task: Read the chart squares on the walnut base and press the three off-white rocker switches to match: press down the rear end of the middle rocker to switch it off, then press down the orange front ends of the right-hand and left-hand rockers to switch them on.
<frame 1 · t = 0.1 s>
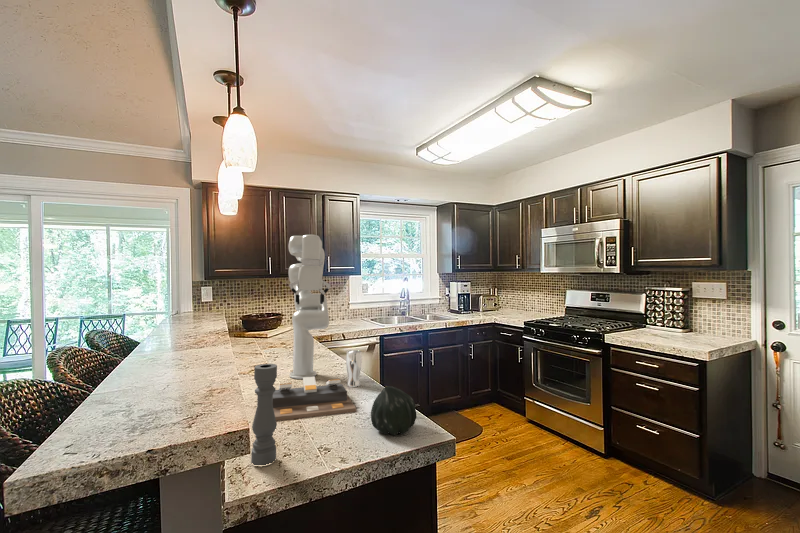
hand: (309, 304, 156), 37 cm above the counter, tool pointing down, fingers open, 9 cm apart
rocker b: (309, 384, 141), point 7 cm above the counter, hinge at 20.0°
beige tall curved piece: (353, 385, 164), on the counter
rocker c: (333, 382, 145), point 7 cm above the counter, hinge at -20.0°
switch unit: (310, 405, 138), on the counter
squash: (393, 430, 118), on the counter
candle holder: (263, 461, 97), on the counter
rocker a: (285, 386, 138), point 7 cm above the counter, hinge at -20.0°
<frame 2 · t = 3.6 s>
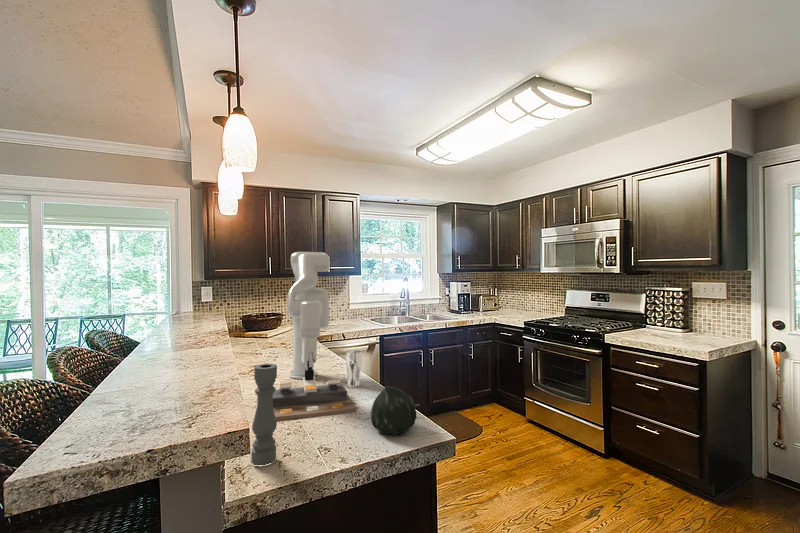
hand: (309, 379, 144), 8 cm above the counter, tool pointing down, fingers closed
rocker b: (309, 384, 141), point 7 cm above the counter, hinge at 19.4°, touching gripper
everything else where it was.
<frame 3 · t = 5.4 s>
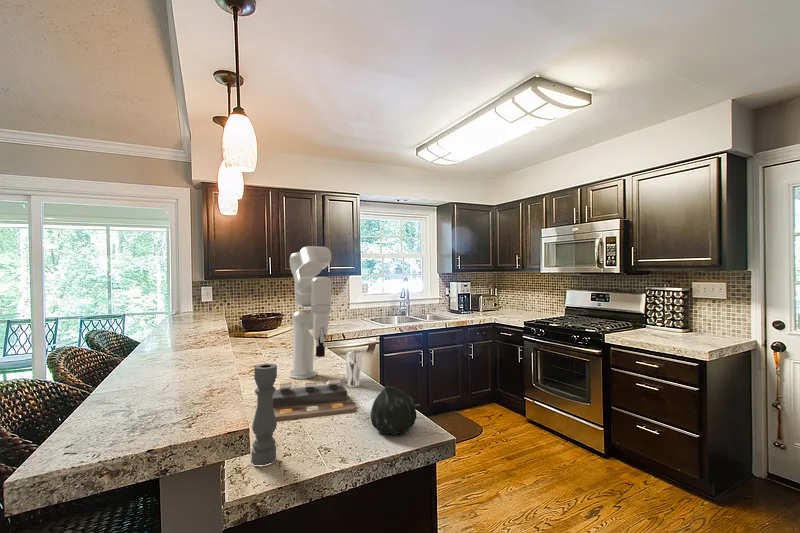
hand: (320, 356, 143), 18 cm above the counter, tool pointing down, fingers closed
rocker b: (309, 384, 141), point 7 cm above the counter, hinge at -12.9°
everything else where it was.
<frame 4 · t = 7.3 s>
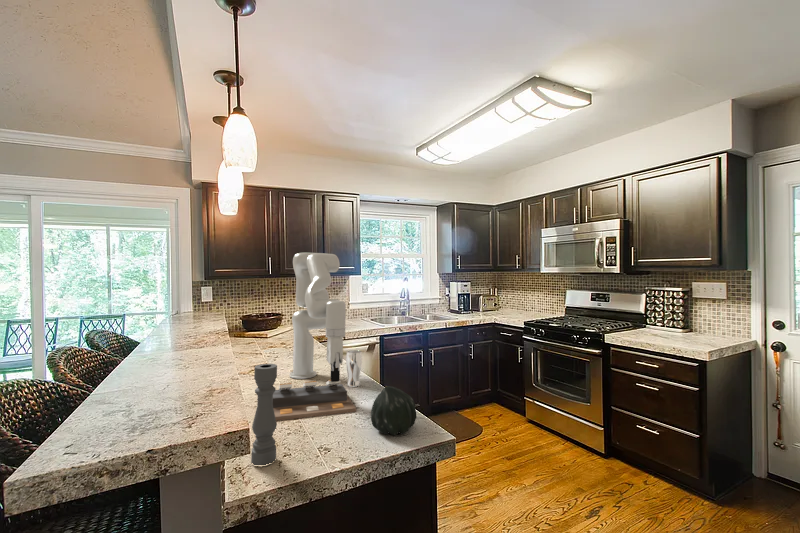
hand: (335, 380, 141), 9 cm above the counter, tool pointing down, fingers closed
rocker b: (309, 384, 142), point 7 cm above the counter, hinge at -20.0°
rocker c: (333, 382, 145), point 7 cm above the counter, hinge at -19.5°, touching gripper
everything else where it was.
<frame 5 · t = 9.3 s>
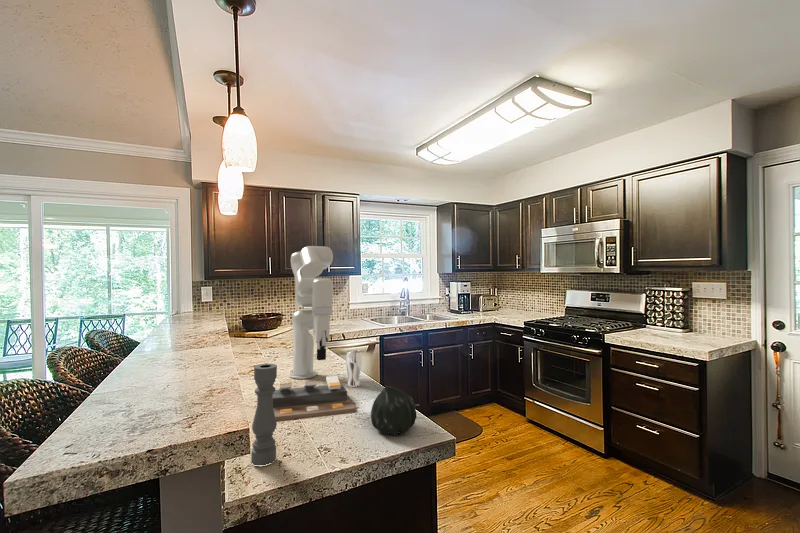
hand: (321, 359, 140), 17 cm above the counter, tool pointing down, fingers closed
rocker b: (309, 384, 142), point 7 cm above the counter, hinge at -21.8°
rocker c: (333, 382, 144), point 7 cm above the counter, hinge at 12.4°
everything else where it was.
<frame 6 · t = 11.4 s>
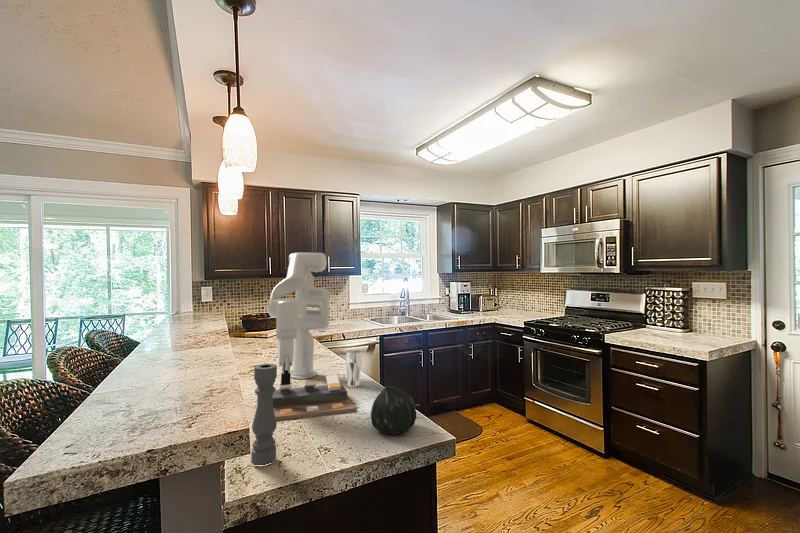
hand: (285, 384, 135), 9 cm above the counter, tool pointing down, fingers closed
rocker b: (309, 384, 142), point 7 cm above the counter, hinge at -22.2°
rocker c: (333, 382, 144), point 7 cm above the counter, hinge at 19.7°
rocker a: (285, 386, 138), point 7 cm above the counter, hinge at -19.8°, touching gripper
everything else where it was.
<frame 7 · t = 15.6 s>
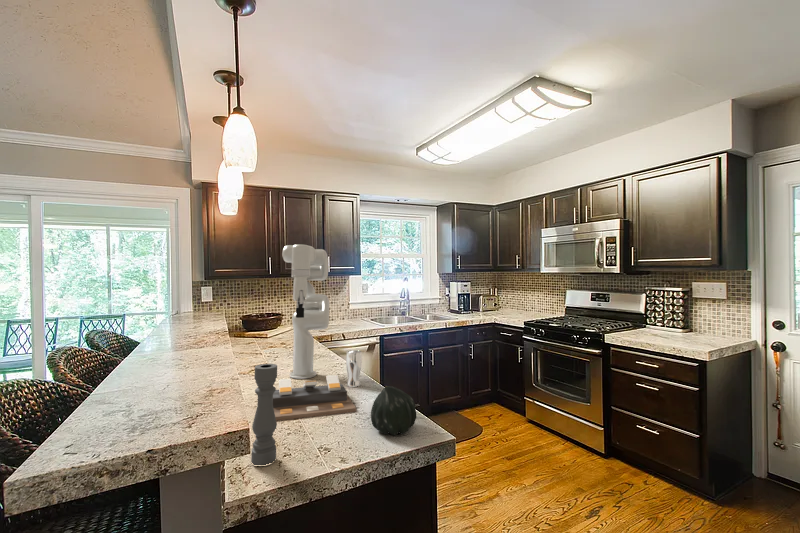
hand: (299, 317, 155), 31 cm above the counter, tool pointing down, fingers closed
rocker c: (333, 382, 144), point 7 cm above the counter, hinge at 21.6°
rocker a: (285, 386, 138), point 7 cm above the counter, hinge at 19.5°
everything else where it was.
at the end: rocker a at +20° (first picture: -20°); rocker b at -22° (first picture: +20°); rocker c at +22° (first picture: -20°) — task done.
